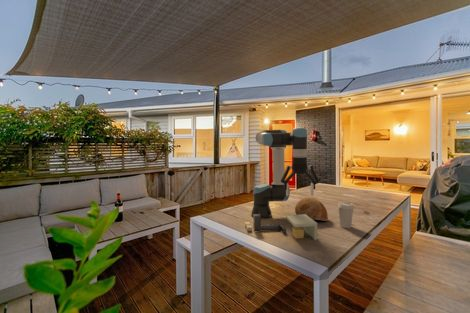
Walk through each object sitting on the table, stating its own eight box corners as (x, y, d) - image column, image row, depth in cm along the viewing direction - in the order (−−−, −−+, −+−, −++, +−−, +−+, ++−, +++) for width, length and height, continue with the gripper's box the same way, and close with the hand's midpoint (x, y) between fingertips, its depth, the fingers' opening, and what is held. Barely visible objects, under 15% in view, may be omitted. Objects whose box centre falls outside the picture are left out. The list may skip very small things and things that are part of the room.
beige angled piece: (285, 230, 143) (285, 215, 142) (305, 228, 144) (305, 214, 143) (295, 241, 127) (295, 224, 126) (317, 239, 128) (317, 223, 128)
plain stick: (244, 226, 151) (244, 221, 151) (249, 226, 152) (249, 221, 151) (247, 232, 141) (247, 227, 141) (252, 231, 142) (251, 227, 141)
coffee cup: (357, 228, 143) (357, 205, 142) (343, 229, 141) (343, 206, 140) (347, 223, 152) (347, 201, 151) (334, 224, 151) (334, 202, 150)
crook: (253, 229, 145) (253, 214, 144) (281, 227, 147) (281, 212, 146) (256, 235, 135) (256, 219, 134) (286, 233, 137) (286, 217, 136)
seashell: (311, 210, 176) (315, 192, 172) (330, 224, 158) (335, 205, 154) (289, 213, 169) (292, 194, 165) (306, 228, 150) (310, 208, 146)
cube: (292, 234, 135) (292, 226, 135) (300, 234, 136) (300, 226, 136) (295, 238, 130) (295, 230, 130) (303, 238, 131) (303, 229, 131)
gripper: (277, 157, 119) (277, 197, 121) (325, 156, 119) (324, 196, 120) (275, 156, 127) (275, 193, 128) (320, 155, 126) (320, 193, 128)
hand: (299, 195), depth 124 cm, fingers open, 13 cm apart
